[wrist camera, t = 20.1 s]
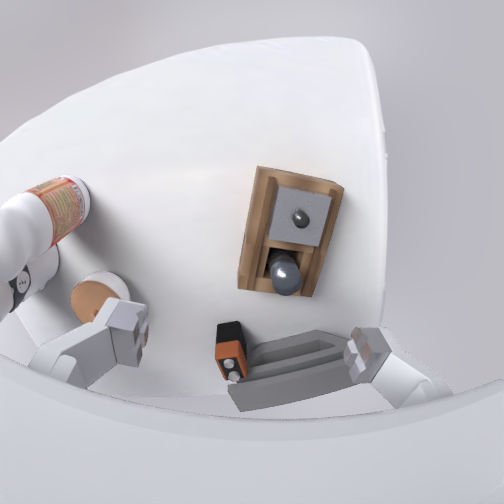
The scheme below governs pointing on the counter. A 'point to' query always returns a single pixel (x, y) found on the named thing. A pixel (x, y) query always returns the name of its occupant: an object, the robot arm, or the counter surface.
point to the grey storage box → (292, 371)
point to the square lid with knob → (298, 215)
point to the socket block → (257, 243)
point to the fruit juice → (39, 221)
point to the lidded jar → (96, 294)
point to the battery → (231, 351)
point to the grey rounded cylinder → (283, 271)
